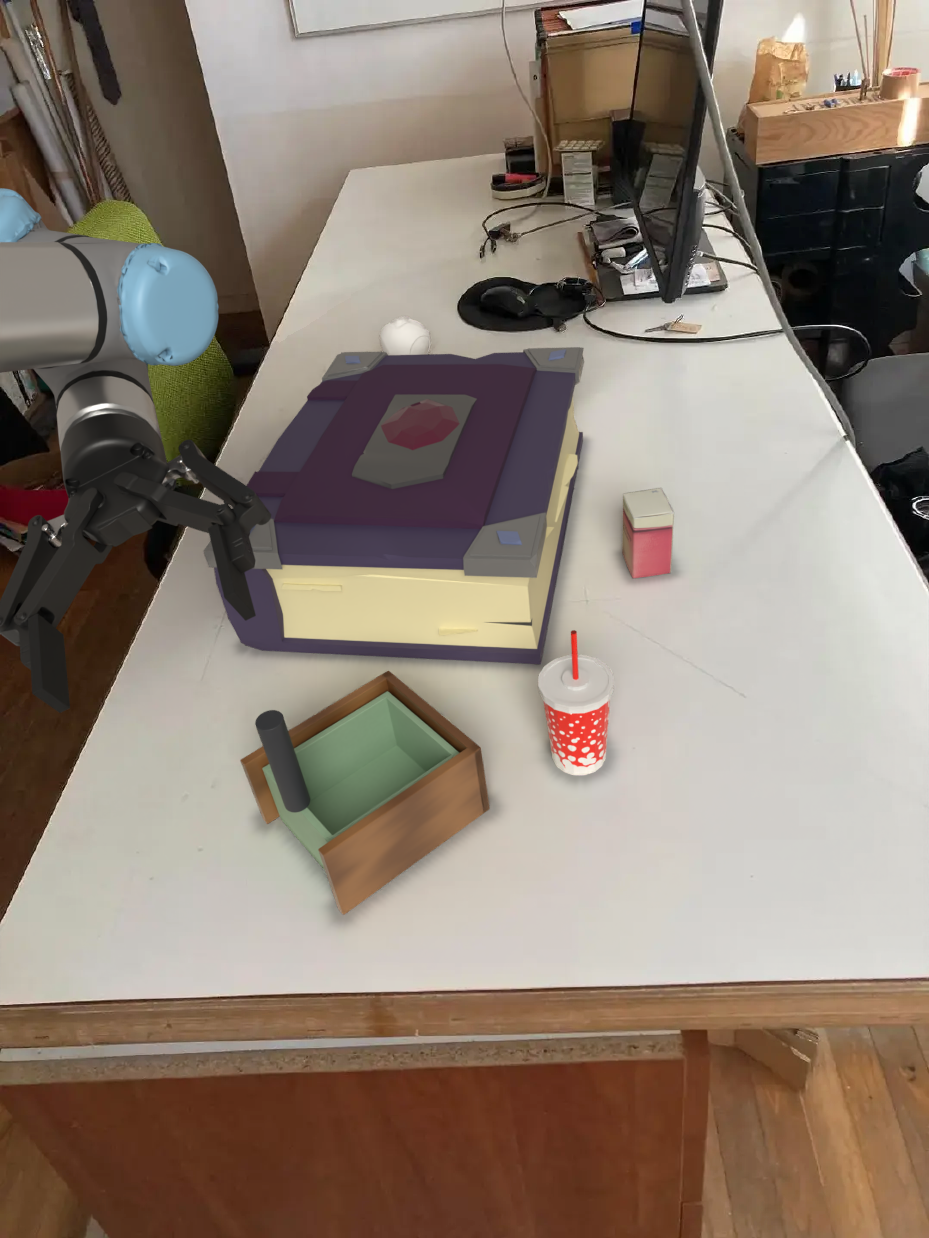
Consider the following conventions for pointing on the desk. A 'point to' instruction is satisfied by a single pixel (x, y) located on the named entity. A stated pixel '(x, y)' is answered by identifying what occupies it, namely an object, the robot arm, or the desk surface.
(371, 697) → the wooden drawer casing
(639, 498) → the small box
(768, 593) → the desk surface
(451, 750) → the green open box
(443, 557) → the book
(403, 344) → the white lumpy ball
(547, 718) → the beverage cup
